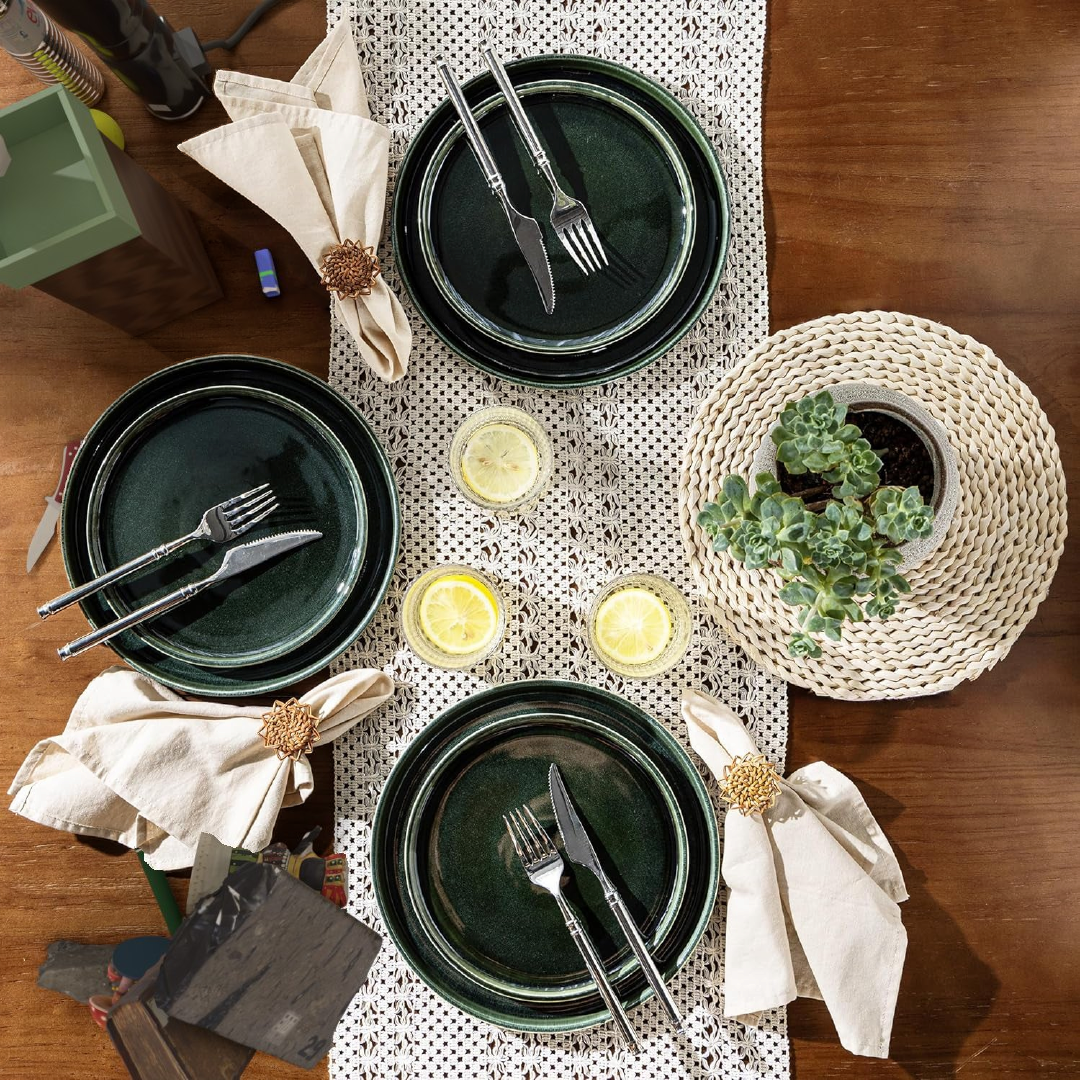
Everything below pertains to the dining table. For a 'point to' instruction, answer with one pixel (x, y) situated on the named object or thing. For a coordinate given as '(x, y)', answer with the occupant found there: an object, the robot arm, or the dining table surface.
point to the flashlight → (162, 894)
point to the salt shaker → (3, 157)
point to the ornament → (108, 127)
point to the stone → (78, 970)
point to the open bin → (56, 189)
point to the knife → (51, 509)
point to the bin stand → (141, 261)
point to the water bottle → (47, 51)
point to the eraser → (267, 272)
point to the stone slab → (267, 964)
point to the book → (169, 1040)
